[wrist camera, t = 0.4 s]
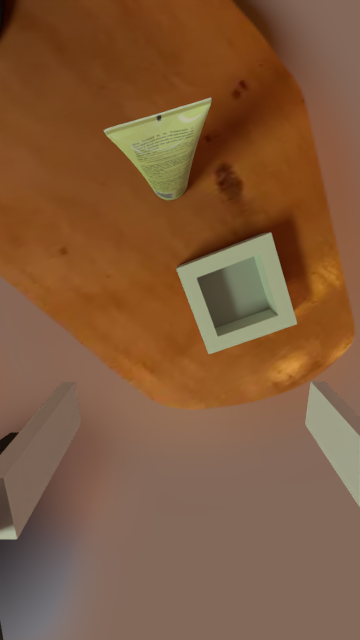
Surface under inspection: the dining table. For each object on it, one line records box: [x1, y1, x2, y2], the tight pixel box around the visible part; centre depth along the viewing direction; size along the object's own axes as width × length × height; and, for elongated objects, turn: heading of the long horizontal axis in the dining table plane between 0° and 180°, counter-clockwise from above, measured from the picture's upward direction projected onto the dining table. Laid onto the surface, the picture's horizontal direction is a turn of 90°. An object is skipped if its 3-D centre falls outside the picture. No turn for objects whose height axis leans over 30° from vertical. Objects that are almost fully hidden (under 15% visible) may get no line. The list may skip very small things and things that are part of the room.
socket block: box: [176, 232, 297, 354], centre depth 39 cm, size 12×12×4 cm
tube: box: [104, 98, 212, 200], centre depth 28 cm, size 6×5×20 cm
